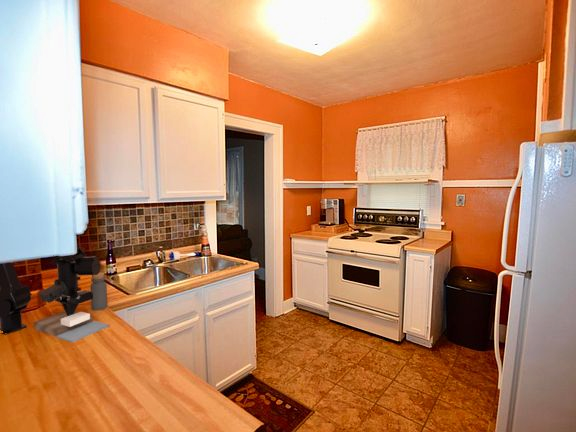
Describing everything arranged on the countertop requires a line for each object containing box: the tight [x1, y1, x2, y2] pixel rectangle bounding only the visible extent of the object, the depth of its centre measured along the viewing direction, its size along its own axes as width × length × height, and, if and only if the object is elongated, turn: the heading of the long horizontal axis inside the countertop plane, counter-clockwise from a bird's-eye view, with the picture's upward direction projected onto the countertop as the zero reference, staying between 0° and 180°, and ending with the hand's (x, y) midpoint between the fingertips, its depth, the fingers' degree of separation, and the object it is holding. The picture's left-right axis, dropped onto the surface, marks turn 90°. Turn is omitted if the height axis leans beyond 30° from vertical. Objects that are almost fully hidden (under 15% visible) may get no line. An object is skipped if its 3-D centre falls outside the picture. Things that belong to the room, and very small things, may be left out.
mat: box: [56, 320, 110, 343], centre depth 106 cm, size 8×13×1 cm, turn 158°
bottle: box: [89, 271, 108, 311], centre depth 127 cm, size 6×6×15 cm
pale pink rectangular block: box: [61, 311, 91, 327], centre depth 107 cm, size 5×7×2 cm
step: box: [33, 310, 93, 337], centre depth 110 cm, size 14×12×3 cm
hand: (70, 316), depth 108 cm, fingers closed
